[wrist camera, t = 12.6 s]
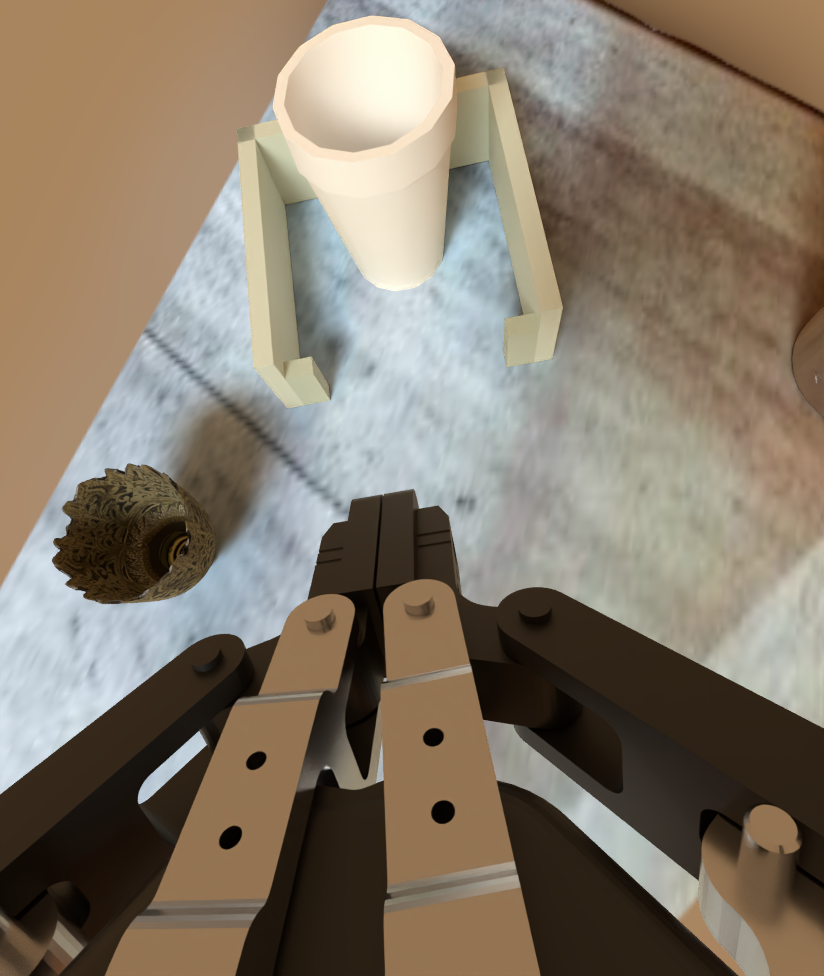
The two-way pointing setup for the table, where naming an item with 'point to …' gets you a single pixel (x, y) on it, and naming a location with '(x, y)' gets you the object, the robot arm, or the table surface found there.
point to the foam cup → (375, 140)
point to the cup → (134, 538)
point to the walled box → (277, 183)
